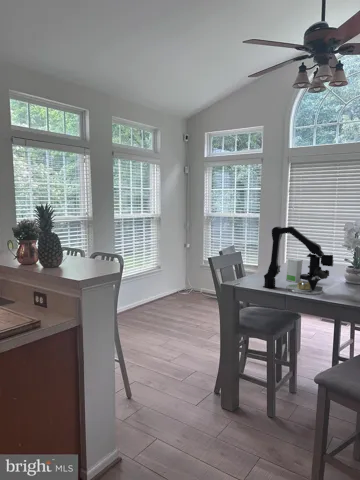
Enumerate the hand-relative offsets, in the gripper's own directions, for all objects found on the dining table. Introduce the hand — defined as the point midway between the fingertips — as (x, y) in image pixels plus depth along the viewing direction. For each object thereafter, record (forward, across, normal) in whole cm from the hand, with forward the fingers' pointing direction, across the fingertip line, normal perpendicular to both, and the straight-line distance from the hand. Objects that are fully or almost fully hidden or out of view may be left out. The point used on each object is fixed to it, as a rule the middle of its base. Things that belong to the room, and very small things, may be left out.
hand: (313, 289), depth 216 cm
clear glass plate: (+2, +2, +9) cm, 9 cm away
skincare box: (+2, +17, +30) cm, 35 cm away
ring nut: (+1, +4, +5) cm, 7 cm away
